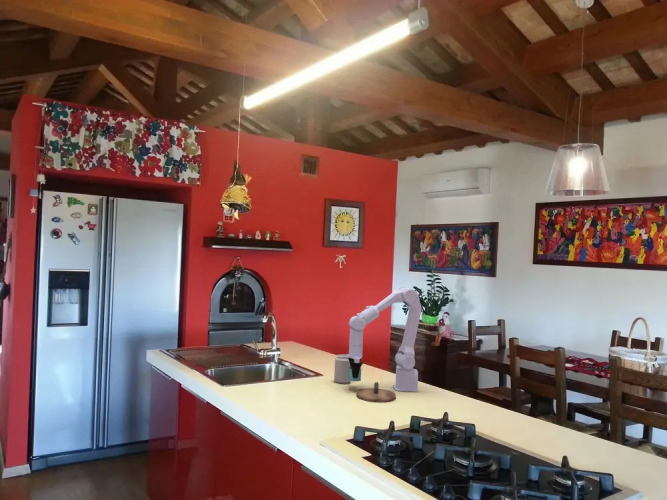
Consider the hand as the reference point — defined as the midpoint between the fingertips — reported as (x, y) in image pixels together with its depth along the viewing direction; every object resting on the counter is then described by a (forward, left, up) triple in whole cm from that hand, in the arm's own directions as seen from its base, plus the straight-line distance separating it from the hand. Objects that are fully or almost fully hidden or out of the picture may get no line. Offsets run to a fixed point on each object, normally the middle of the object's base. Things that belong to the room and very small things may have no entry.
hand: (354, 376), depth 228 cm
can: (+4, -12, -6) cm, 14 cm away
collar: (0, 0, -2) cm, 2 cm away
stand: (-8, +11, -5) cm, 15 cm away
